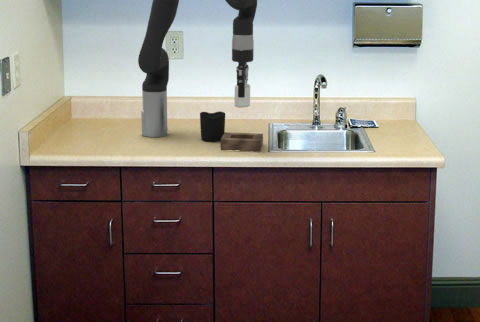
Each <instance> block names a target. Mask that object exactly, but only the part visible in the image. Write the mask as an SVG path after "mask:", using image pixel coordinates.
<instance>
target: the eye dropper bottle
mask: <svg viewBox="0 0 480 322" xmlns="http://www.w3.org/2000/svg"><path fill="white" fill-rule="evenodd" d="M240 82H243V80H240ZM250 106H251V85H250V84H249V83H248V82H247V83H246V81H245V97H244V98H240V97H238V86H237V84H235V86H234V107H235V108H239V109H241V108H242V109H243V108H248V107H250Z"/></svg>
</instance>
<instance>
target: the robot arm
mask: <svg viewBox="0 0 480 322" xmlns="http://www.w3.org/2000/svg"><path fill="white" fill-rule="evenodd" d="M224 1H225V2H226V3H227V4H228V5H229V7H231V9H234V10H236V11H238V14H237V16H236V17H235V18H234V19H233V21H232V39H231V60H232V62H235V63H238V65H237V66H236V68H235V71H236V85H237V86H238V97H240V98H244V97H245V81H246V83H247V84H248V81H249V70H250V66H249V64H248V63H251V62H253V61H254V52H255V51H254V45H255V44H254V43H255V42H254V41H255V40H254V21H255V16H256V14H257V13H256V11H257V7H258V0H224ZM179 4H180V0H152V4H151V7H150V9H151V10H150V13H149V19H148V22H147V28H146V31H145V35H144V38H143V42H142V45H141V48H140V51H139V55H138V58H137V61H138V62H137V63H138V67H139V69H140V70H141V71H142V73H144V74H146V76H145V78H144V80H143V82H142V84H141V89H142V110H140V111H141V113H140V114H141V117H140V119H141V136H144V137H149V138H160V137H162V138H163V137H165V136H168V134H169V133H168V129H169V128H168V92H167V88H168V84H169V80H170V79H169V78H170V77H169V76H170V72H169V71H170V59H169V55H168V52H167V51H166V49H164V48H163V45H164V40H165V39H166V36H167V34H168V32H169V30H170V28H171V26H172V25H173V23H174V20H175V18H176V15H177V12H178V7H179ZM240 80H243V82H240Z"/></svg>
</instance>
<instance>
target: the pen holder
mask: <svg viewBox="0 0 480 322" xmlns="http://www.w3.org/2000/svg"><path fill="white" fill-rule="evenodd" d="M199 121H200V122H199V124H200V126H199V127H200V128H199V129H200V139H201V140H202V141H203V142H206V143H218V142H221V138H222V136H223V135H224V133H225V129H226V128H225V127H226V112H224V111H221V110H220V111H216V112H208V111H201V112H199Z"/></svg>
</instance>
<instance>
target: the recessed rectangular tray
mask: <svg viewBox="0 0 480 322" xmlns="http://www.w3.org/2000/svg"><path fill="white" fill-rule="evenodd" d="M263 142H264V133H255V132H254V133H250V132H229V131H228V132H225V133H224V135H223V136H222V138H221V141H220V151H221V150H240V151H239V152H246V151H260V152H261V150H262V148H263V145H264V143H263Z"/></svg>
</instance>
